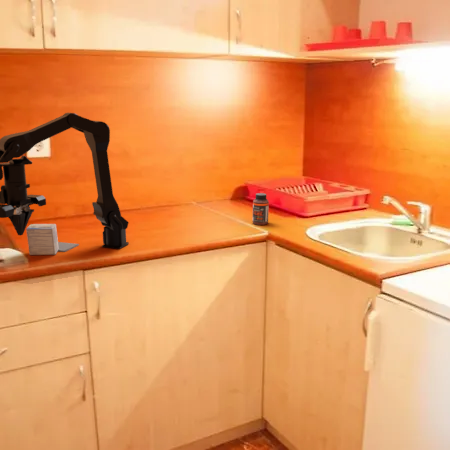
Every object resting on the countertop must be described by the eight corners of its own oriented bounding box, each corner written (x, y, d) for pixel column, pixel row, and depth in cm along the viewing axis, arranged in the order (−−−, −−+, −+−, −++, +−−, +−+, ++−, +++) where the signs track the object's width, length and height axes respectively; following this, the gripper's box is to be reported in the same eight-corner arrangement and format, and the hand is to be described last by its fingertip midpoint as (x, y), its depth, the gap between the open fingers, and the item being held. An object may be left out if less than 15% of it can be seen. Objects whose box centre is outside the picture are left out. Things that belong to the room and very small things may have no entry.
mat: (79, 245, 174) (79, 244, 174) (64, 252, 167) (64, 250, 167) (55, 242, 177) (55, 241, 177) (40, 249, 170) (39, 248, 170)
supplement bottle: (250, 224, 202) (251, 194, 199) (254, 221, 207) (255, 192, 205) (266, 225, 200) (266, 195, 197) (269, 222, 206) (270, 193, 203)
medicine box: (59, 249, 168) (56, 223, 165) (55, 255, 164) (52, 228, 161) (33, 249, 168) (30, 223, 165) (29, 255, 163) (25, 228, 160)
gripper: (13, 174, 162) (18, 225, 166) (-33, 185, 145) (-27, 241, 148) (45, 176, 159) (49, 228, 162) (1, 187, 141) (7, 244, 145)
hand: (20, 235), depth 155 cm, fingers closed
